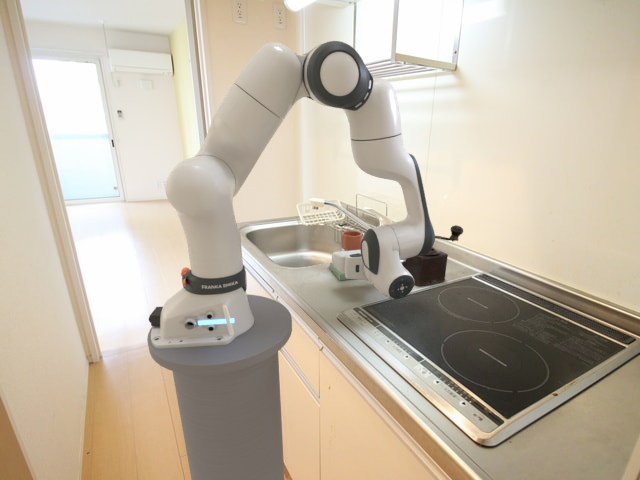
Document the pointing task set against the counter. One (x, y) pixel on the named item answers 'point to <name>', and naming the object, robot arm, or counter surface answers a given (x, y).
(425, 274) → the manual coffee grinder
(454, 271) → the counter surface
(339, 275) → the scale
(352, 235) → the tumbler
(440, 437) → the counter surface
